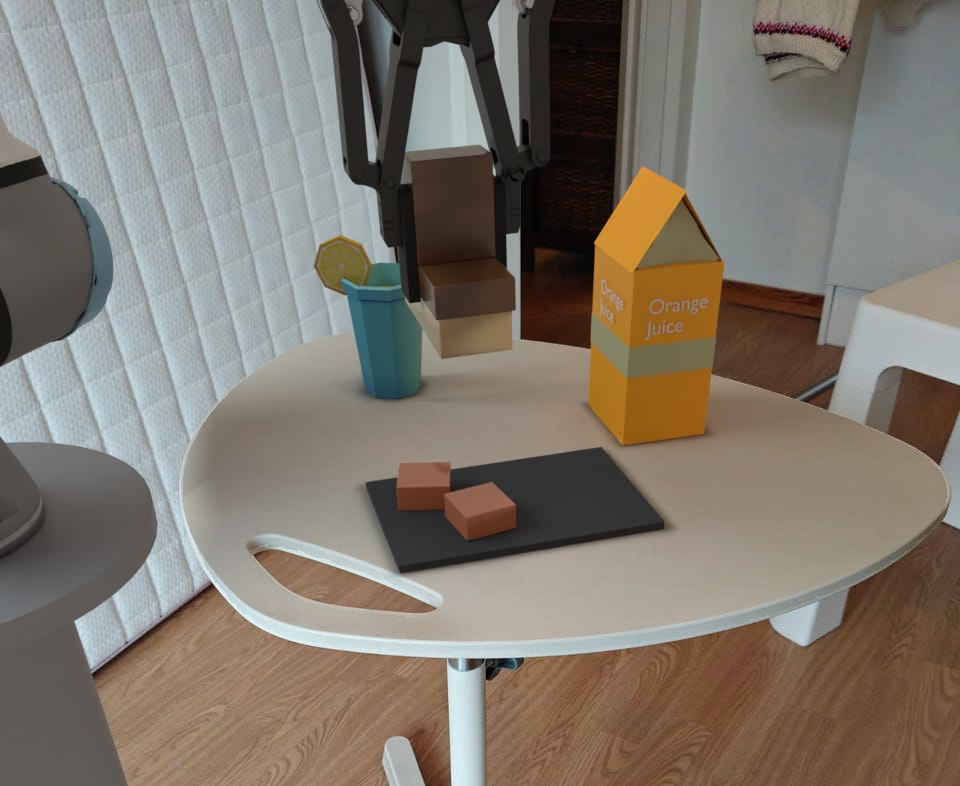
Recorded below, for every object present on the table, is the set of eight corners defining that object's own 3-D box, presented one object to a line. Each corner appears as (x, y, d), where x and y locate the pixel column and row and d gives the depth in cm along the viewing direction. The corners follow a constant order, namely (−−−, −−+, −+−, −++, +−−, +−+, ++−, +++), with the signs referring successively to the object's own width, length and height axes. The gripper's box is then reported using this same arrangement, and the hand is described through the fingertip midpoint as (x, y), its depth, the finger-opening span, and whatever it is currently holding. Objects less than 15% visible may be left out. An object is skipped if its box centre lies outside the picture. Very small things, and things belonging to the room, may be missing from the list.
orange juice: (665, 394, 94) (686, 161, 82) (706, 434, 87) (735, 186, 75) (585, 405, 93) (595, 169, 81) (620, 446, 86) (637, 195, 74)
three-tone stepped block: (438, 361, 62) (426, 177, 56) (401, 301, 72) (388, 138, 65) (516, 350, 63) (513, 168, 57) (470, 293, 72) (463, 131, 66)
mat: (399, 573, 71) (398, 566, 71) (366, 488, 81) (365, 481, 81) (664, 528, 75) (664, 521, 75) (601, 452, 85) (601, 446, 85)
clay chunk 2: (467, 541, 73) (466, 517, 72) (444, 517, 76) (443, 493, 75) (516, 528, 74) (516, 504, 73) (492, 504, 77) (492, 481, 76)
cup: (466, 364, 101) (461, 206, 92) (481, 395, 95) (477, 229, 86) (326, 378, 99) (307, 218, 90) (332, 411, 93) (312, 242, 84)
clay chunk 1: (398, 510, 77) (396, 487, 76) (401, 485, 80) (399, 462, 79) (450, 509, 77) (449, 486, 76) (451, 484, 80) (450, 461, 79)
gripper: (259, -161, 48) (324, 327, 62) (620, -175, 51) (604, 292, 65) (248, -154, 54) (309, 290, 67) (572, -166, 57) (567, 259, 71)
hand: (454, 290), depth 66 cm, fingers closed on three-tone stepped block, 5 cm apart
